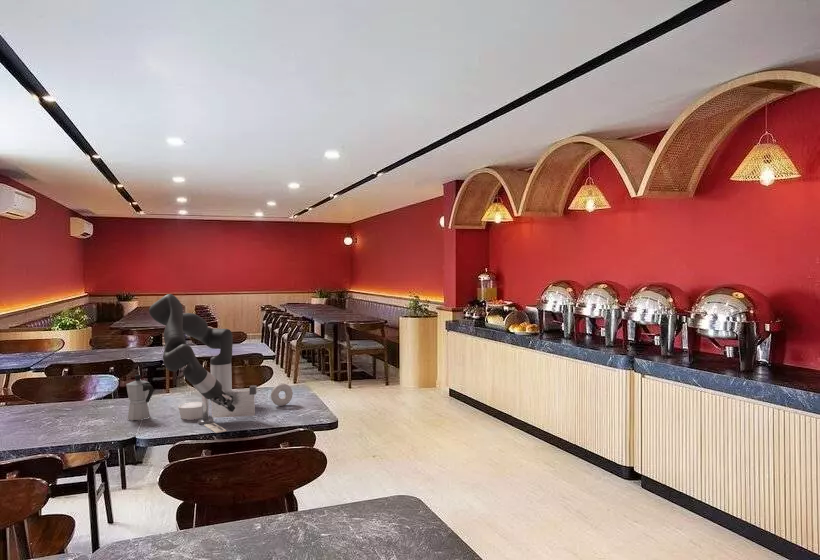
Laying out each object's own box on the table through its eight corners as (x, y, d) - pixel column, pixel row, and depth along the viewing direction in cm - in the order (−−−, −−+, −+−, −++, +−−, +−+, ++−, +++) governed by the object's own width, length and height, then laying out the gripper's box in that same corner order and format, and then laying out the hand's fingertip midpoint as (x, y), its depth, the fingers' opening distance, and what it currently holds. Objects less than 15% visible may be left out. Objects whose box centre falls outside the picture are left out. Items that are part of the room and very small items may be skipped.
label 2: (210, 429, 223) (210, 428, 223) (220, 427, 226) (220, 426, 226) (216, 433, 218) (216, 431, 218) (226, 431, 221) (226, 429, 221)
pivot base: (194, 422, 233) (194, 420, 233) (208, 419, 237) (208, 417, 237) (202, 425, 229) (202, 423, 229) (216, 422, 233) (216, 419, 233)
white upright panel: (201, 420, 231) (201, 387, 231) (203, 418, 234) (202, 386, 234) (256, 417, 234) (255, 385, 234) (257, 415, 237) (256, 383, 237)
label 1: (204, 425, 229) (204, 424, 229) (214, 423, 231) (214, 422, 231) (209, 428, 224) (209, 427, 224) (219, 427, 226) (219, 425, 226)
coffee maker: (118, 419, 240) (117, 375, 239) (136, 413, 248) (135, 371, 247) (144, 423, 233) (143, 378, 233) (162, 417, 241) (161, 374, 241)
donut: (291, 403, 263) (290, 381, 263) (294, 404, 261) (293, 382, 260) (269, 406, 258) (269, 384, 257) (272, 408, 255) (272, 385, 255)
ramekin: (173, 417, 241) (173, 405, 241) (199, 412, 250) (199, 400, 249) (186, 422, 234) (186, 409, 234) (212, 416, 242) (212, 404, 242)
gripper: (189, 390, 220) (216, 415, 230) (212, 394, 213) (239, 420, 223) (200, 374, 224) (226, 399, 235) (224, 377, 217) (249, 403, 228)
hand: (232, 409), depth 229 cm, fingers closed
